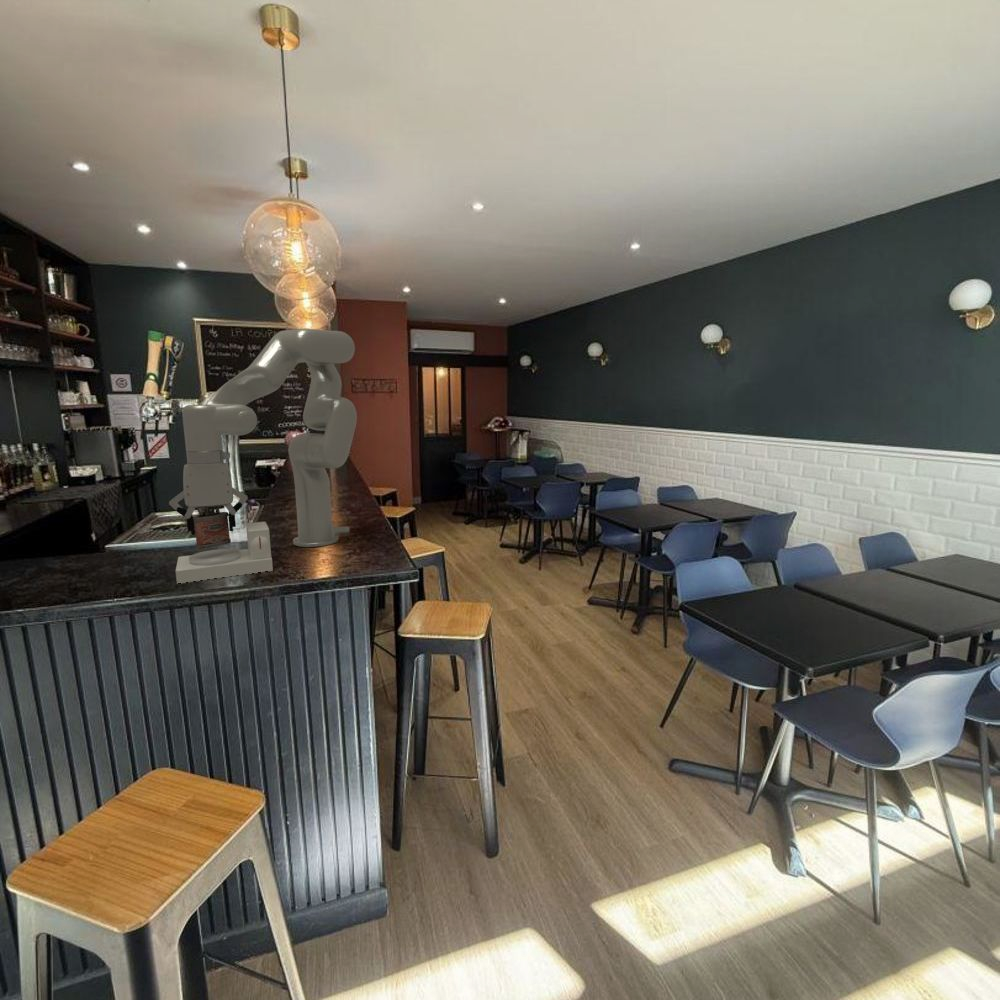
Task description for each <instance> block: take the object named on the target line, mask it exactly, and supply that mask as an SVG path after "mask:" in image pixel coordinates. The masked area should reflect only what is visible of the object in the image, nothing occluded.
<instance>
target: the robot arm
mask: <svg viewBox="0 0 1000 1000" xmlns="http://www.w3.org/2000/svg"><path fill="white" fill-rule="evenodd" d="M355 349H356V348H355V342H354V340H353V339H352V337H351V336H350V335H349V334H347V333H346V332H344V331H340V330H326V329H314V328H296V329H286V330H281V331H278V332H277V333H275V334H274V336H272V337H271V338H270V340H268V343H267V344H265V346H264V347H263V348H262V350H261V351H260V352H259V354H258V355H257V357H256V358H255V359H254V360H253V361H252V362H251V364H250V365H249V366H248V367H247V368H245V369H243V370H242V371H241V372H239V373H237V374H236V375H235V376H234V377H232V378H231V379H229V380H227V382H225V383H224V384H223V385H222V386H220V387H219V388H218V389H216V391H215V392H214V394H213V395H212V396H211V397H210V399H208V401H207V402H206V403H205V404H188V405H187V404H186V405H185V406H184V407H182V412H181V413H182V424H183V425H182V426H183V435H184V443H185V452H186V453H185V454H186V461H187V462H186V464H184V465H183V470H182V471H183V472H182V473H183V476H182V482H183V483H182V484H183V485H182V486H183V490H182V491H181V492H179V494H177V495H176V496H174V497H173V498H172V499H171V500H169V501H168V505H169V506H171V507H172V508H173V509H174V510H175V511H176V513H178V514H179V515H181V516H183V518H185V519H186V527H187V532H190V534H191V536H194V535H196V533H195V523H194V521H193V517H194V515H193V514H194V512H195V509H198V508H200V507H213V506H224V508H226V510H227V512H228V525H229V532H234V528H236V527H237V523H236V513H238V512H239V510H241V509H242V507H243V506H244V504H245V503H246V501H248V498H249V497H248V495H246V494H245V493H243V492H241V491H239V490H238V489H236V488H234V487H233V484H232V476H231V471H230V467H229V464H228V463H227V462H225V460H227V459H231V452H226V451H224V449H223V437H222V435H225V436H226V435H228V436H244V435H248V434H250V433H251V432H253V431H254V429H256V427H257V425H258V417H257V416H258V415H256V413H255V411H254V409H252V408H251V407H249V406H247V405H248V404H250V403H251V402H254V401H255V400H258V399H260V398H263V397H265V396H268V395H270V394H273V392H276V391H278V390H279V389H280V388H281V386H282V385H283V384H284V382H285V380H286V379H287V378H288V377H289V375H290V374H291V372H292V371H293V370H294V369H295V367H296V366H297V365H298V364H301V363H305V364H306V366H307V367H308V369H309V373H310V378H311V379H310V380H311V381H310V386H309V390H308V393H307V398H306V401H305V405H304V409H303V413H302V414H303V415H302V419H303V423H304V425H305V426H306V427H307V428H309V429H311V430H314V431H324V433H321V432H319V433H317V432H316V433H315V432H312V433H311V432H307V433H306V432H305V433H299V434H298V435H295V436H294V437H292V439H291V441H290V442H289V444H288V450H287V451H288V457H289V461H290V464H291V467H292V471H293V473H292V474H293V479H294V492H295V506H296V519H297V520H296V521H297V522H296V523H297V534H298V535H297V537H294V538H293V540H292V544H293V545H294V546H296V547H300V548H301V547H302V548H314V547H315V548H316V547H318V548H319V547H325V546H328V545H332V544H335V543H337V542H339V540H340V539H339V534H349V533H350V526H342V525H341V526H335V525H334V524H333V515H332V514H333V513H332V499H331V498H332V497H331V482H330V478H329V475H328V472H327V470H326V469H338V468H340V467H342V466H343V465H344V464H345V463H346V462H347V459H348V457H349V455H350V453H351V452H350V451H351V447H352V443H353V439H354V436H355V435H354V434H355V431H356V426H357V420H358V414H357V410H356V406H355V405H354V403H353V402H352V400H350V399H348V398H346V397H344V396H343V397H342V396H341V391H342V385H343V384H342V379H341V375H340V374H339V372H338V370H337V368H336V366H335V365H334V364H344V363H348V362H350V361H351V360H352V358H353V357H354V354H355ZM234 496H236V497H237V498H239V499H238V501H237V502H236V503H235V504H234V505H233V502H234ZM183 499H184V504H185V506H186V507H187V509H186V508H184V507H183V506H181V505H180V504H179V502H180V501H182V500H183Z"/></svg>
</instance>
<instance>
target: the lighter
mask: <svg viewBox="0 0 1000 1000" xmlns="http://www.w3.org/2000/svg"><path fill="white" fill-rule="evenodd" d="M222 509H225V506H213V507H200V508H197V512H198V515H196V516H193V521H194V525H195V540H196V544H195V547H196V548H195V549H196V550H208V549H212V548H216V547H221V546H225V545H228V544H231V542H232V541H231V539H232V538H230V529H229V518H228V514H229V511H220V510H222Z"/></svg>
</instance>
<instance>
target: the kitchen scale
mask: <svg viewBox="0 0 1000 1000" xmlns="http://www.w3.org/2000/svg"><path fill="white" fill-rule="evenodd" d="M245 526H246V536H247V548H245V549H244V548H243V549H232V548H221V549H220V548H219V549H210V550H209V549H208V550H206V551H200V552H197V553H196V552H195V553H194V554H192V555H184V556H183V555H181V556H177V557H178V558H177V562H176V567H175V578H176V579H175V580H176V585H179V584H178V583H181V584H187V583H186V582H188V583H194V582H193V581H196V582H201V581H200V580H203V581H208V580H207V579H210V580H215V579H214V578H217V579H223V578H222V577H225V578H231V577H230V576H232V577H237V576H236V575H239V576H245V574H247V575H253V574H252V573H254V574H259V573H258V572H261V573H266V572H265V571H268V572H273V571H274V569H273V558H272V550H271V548H272V547H271V539H270V528H269V526H268V524H267V522H266V521H257V522H247V523H245Z"/></svg>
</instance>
